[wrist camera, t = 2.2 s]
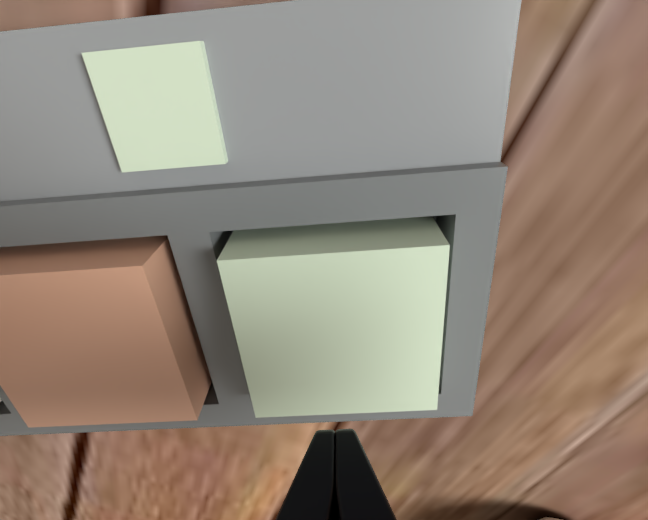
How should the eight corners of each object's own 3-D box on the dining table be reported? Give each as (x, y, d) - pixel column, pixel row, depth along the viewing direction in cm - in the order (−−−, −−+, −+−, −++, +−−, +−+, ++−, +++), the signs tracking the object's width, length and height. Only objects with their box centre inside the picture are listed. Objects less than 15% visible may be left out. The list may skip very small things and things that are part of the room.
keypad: (447, 350, 17) (472, 415, 14) (-81, 377, 19) (-163, 442, 15) (477, -6, 11) (535, -29, 8) (-320, 78, 12) (-537, 86, 9)
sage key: (424, 365, 14) (437, 409, 12) (264, 373, 15) (255, 417, 13) (431, 215, 11) (450, 244, 10) (233, 229, 12) (216, 260, 10)
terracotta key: (213, 376, 15) (197, 420, 13) (64, 383, 15) (28, 427, 13) (170, 234, 12) (142, 265, 10) (-13, 247, 12) (-71, 280, 10)
